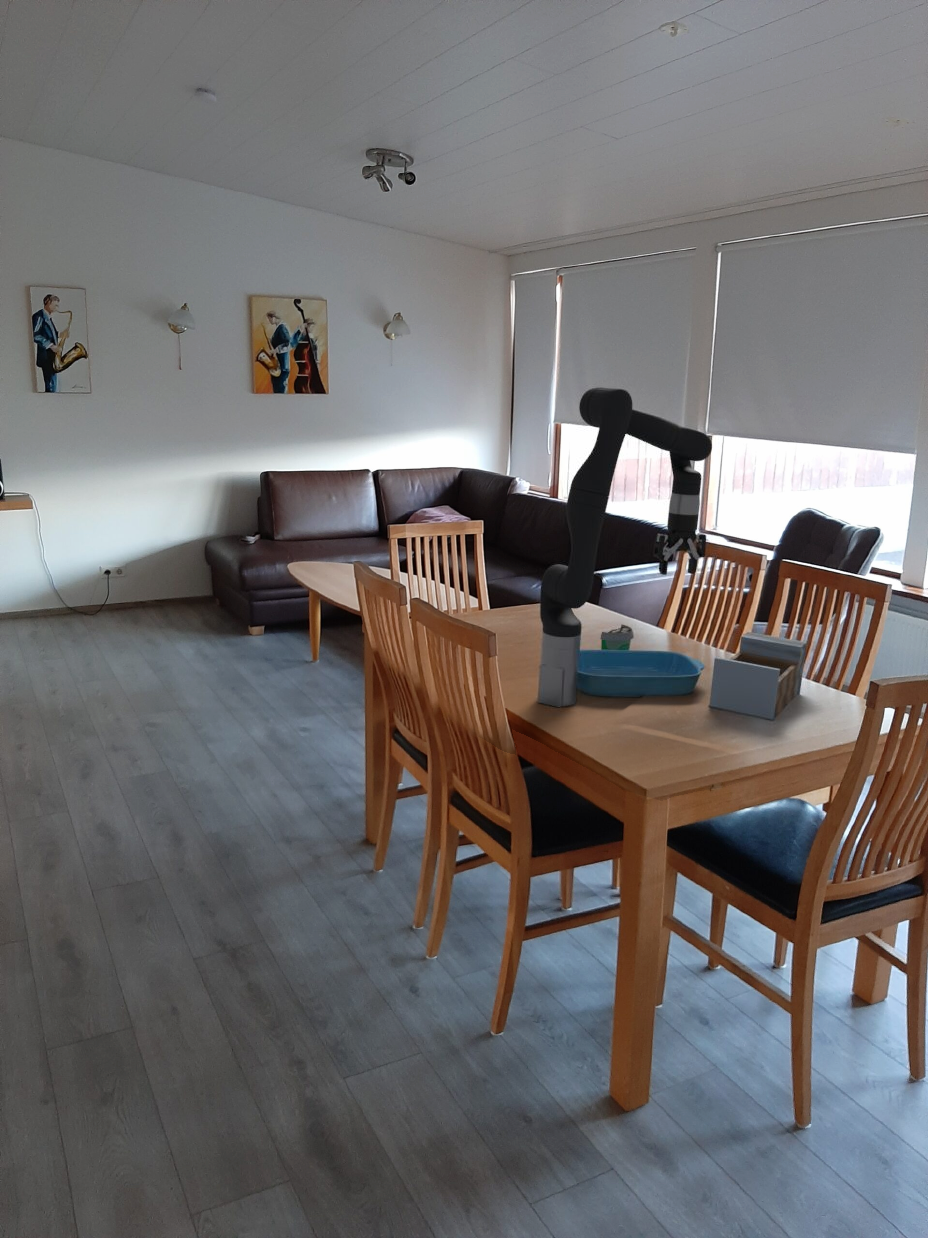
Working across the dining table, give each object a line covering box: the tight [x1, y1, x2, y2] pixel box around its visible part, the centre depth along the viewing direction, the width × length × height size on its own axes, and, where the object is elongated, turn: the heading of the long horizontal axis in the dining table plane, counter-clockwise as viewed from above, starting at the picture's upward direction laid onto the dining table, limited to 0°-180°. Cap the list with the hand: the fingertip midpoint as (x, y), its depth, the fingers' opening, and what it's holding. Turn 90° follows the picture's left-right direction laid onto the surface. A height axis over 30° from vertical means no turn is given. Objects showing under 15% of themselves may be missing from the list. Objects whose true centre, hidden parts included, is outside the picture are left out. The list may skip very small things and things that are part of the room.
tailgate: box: [707, 656, 780, 722], centre depth 222 cm, size 1×16×13 cm, turn 58°
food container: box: [599, 624, 635, 650], centre depth 260 cm, size 12×6×10 cm, turn 143°
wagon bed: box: [729, 631, 808, 719], centre depth 233 cm, size 26×15×14 cm, turn 148°
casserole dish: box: [577, 649, 706, 698], centre depth 242 cm, size 37×22×7 cm, turn 93°
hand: (677, 573), depth 244 cm, fingers open, 8 cm apart
